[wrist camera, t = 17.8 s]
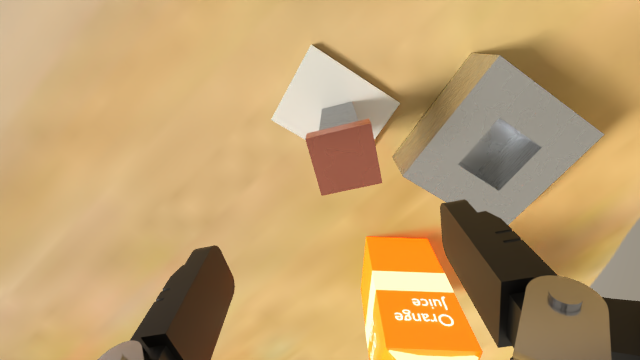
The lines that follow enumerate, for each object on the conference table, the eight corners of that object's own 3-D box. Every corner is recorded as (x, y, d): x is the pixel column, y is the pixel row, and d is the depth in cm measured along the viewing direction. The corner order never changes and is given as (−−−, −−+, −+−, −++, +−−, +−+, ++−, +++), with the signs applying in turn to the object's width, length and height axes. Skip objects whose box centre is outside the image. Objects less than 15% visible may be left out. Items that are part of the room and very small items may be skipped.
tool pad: (272, 117, 30) (271, 119, 30) (311, 44, 27) (311, 44, 27) (353, 165, 32) (354, 168, 32) (398, 101, 29) (400, 103, 28)
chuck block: (392, 156, 32) (402, 176, 27) (471, 52, 27) (499, 55, 23) (476, 208, 34) (498, 233, 29) (562, 120, 29) (604, 134, 25)
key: (314, 104, 29) (305, 138, 19) (356, 93, 28) (371, 123, 18) (324, 144, 30) (321, 195, 20) (364, 135, 30) (382, 182, 20)
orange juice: (428, 238, 36) (527, 436, 18) (417, 291, 40) (489, 500, 22) (364, 236, 36) (398, 430, 18) (359, 289, 40) (382, 494, 22)
